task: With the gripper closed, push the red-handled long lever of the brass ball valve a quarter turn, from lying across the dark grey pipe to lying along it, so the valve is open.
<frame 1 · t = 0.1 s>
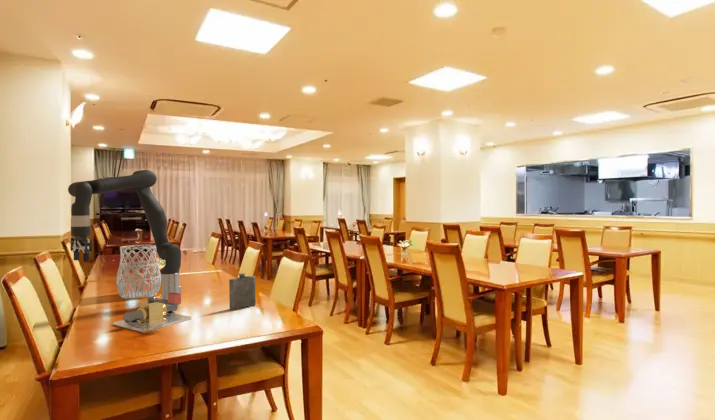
hand: (81, 260, 191), 29 cm above the table, tool pointing down, fingers open, 8 cm apart
flask: (242, 307, 222), on the table
valve: (152, 321, 195), on the table
lever: (163, 297, 190), point 12 cm above the table, hinge at 90.0°
vase: (139, 295, 254), on the table
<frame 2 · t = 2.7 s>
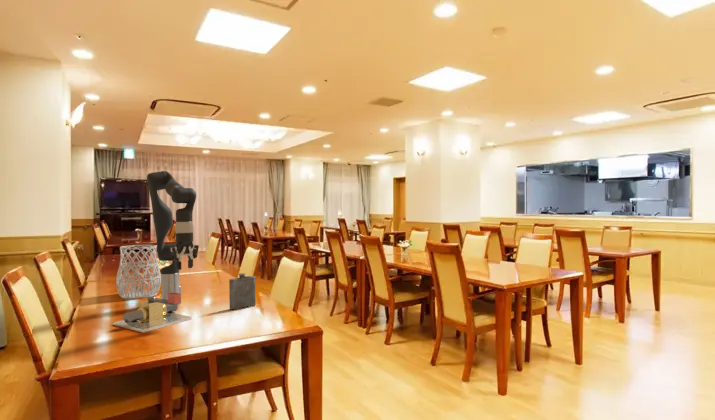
hand: (184, 268, 191), 25 cm above the table, tool pointing down, fingers open, 5 cm apart
nothing on the table moved.
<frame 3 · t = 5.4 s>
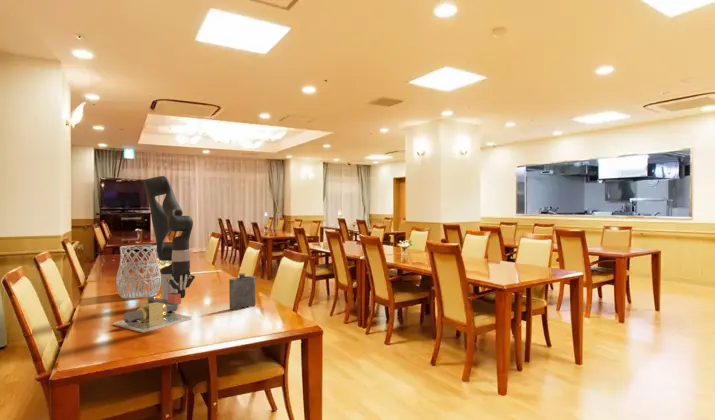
hand: (181, 297, 189), 12 cm above the table, tool pointing down, fingers closed
lever: (163, 297, 190), point 12 cm above the table, hinge at 89.9°, touching gripper
everything else where it was.
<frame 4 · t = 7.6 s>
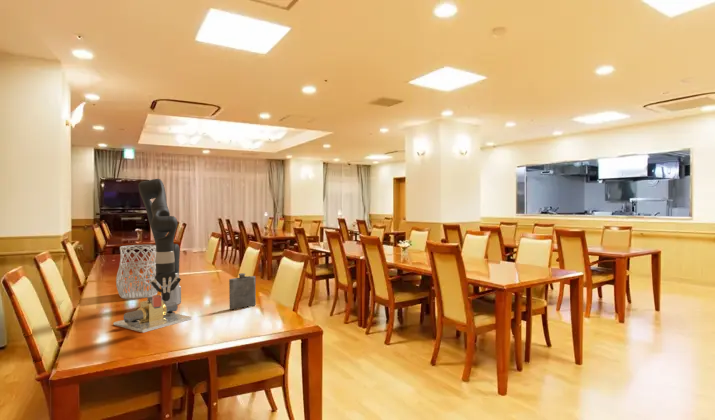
hand: (165, 300, 183), 12 cm above the table, tool pointing down, fingers closed
lever: (154, 298, 188), point 12 cm above the table, hinge at 64.4°, touching gripper
everything else where it was.
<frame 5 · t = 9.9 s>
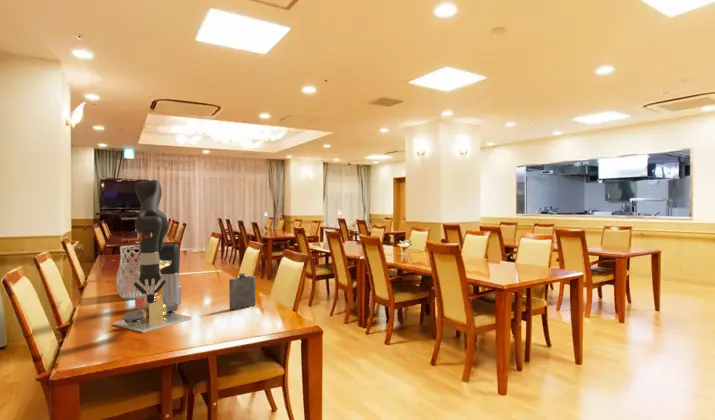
hand: (150, 302, 180), 12 cm above the table, tool pointing down, fingers closed
lever: (146, 299, 186), point 12 cm above the table, hinge at 43.6°, touching gripper
everything else where it was.
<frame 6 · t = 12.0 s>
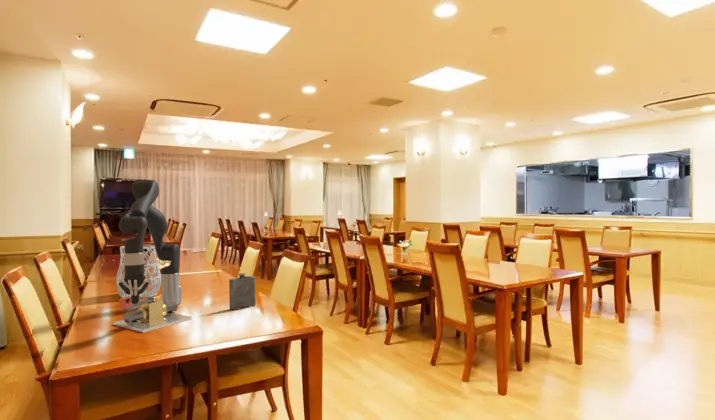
hand: (135, 303, 178), 12 cm above the table, tool pointing down, fingers closed
lever: (139, 299, 186), point 12 cm above the table, hinge at 23.2°, touching gripper
everything else where it was.
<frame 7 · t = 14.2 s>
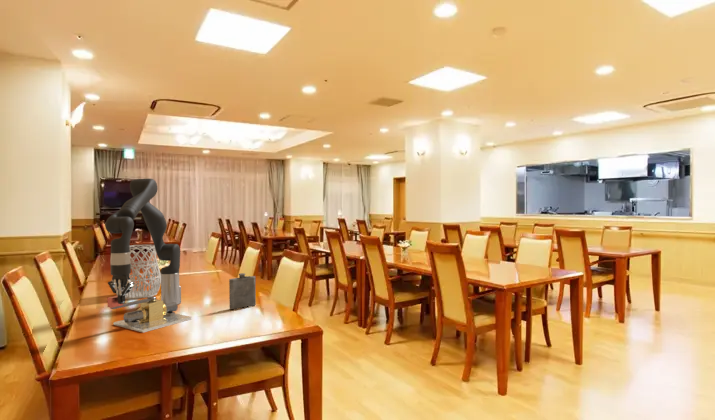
hand: (121, 303, 179), 12 cm above the table, tool pointing down, fingers closed
lever: (133, 298, 187), point 12 cm above the table, hinge at 1.7°, touching gripper
everything else where it was.
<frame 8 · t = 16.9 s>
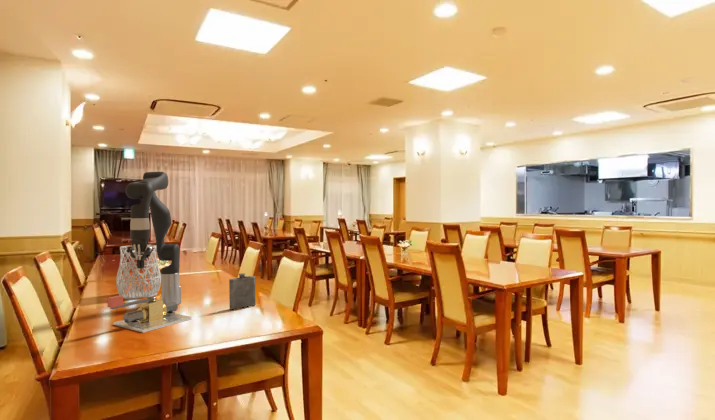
hand: (140, 268, 182), 27 cm above the table, tool pointing down, fingers closed
lever: (133, 298, 187), point 12 cm above the table, hinge at 1.7°
everything else where it was.
at the end: lever at +2° (first picture: +90°) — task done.
